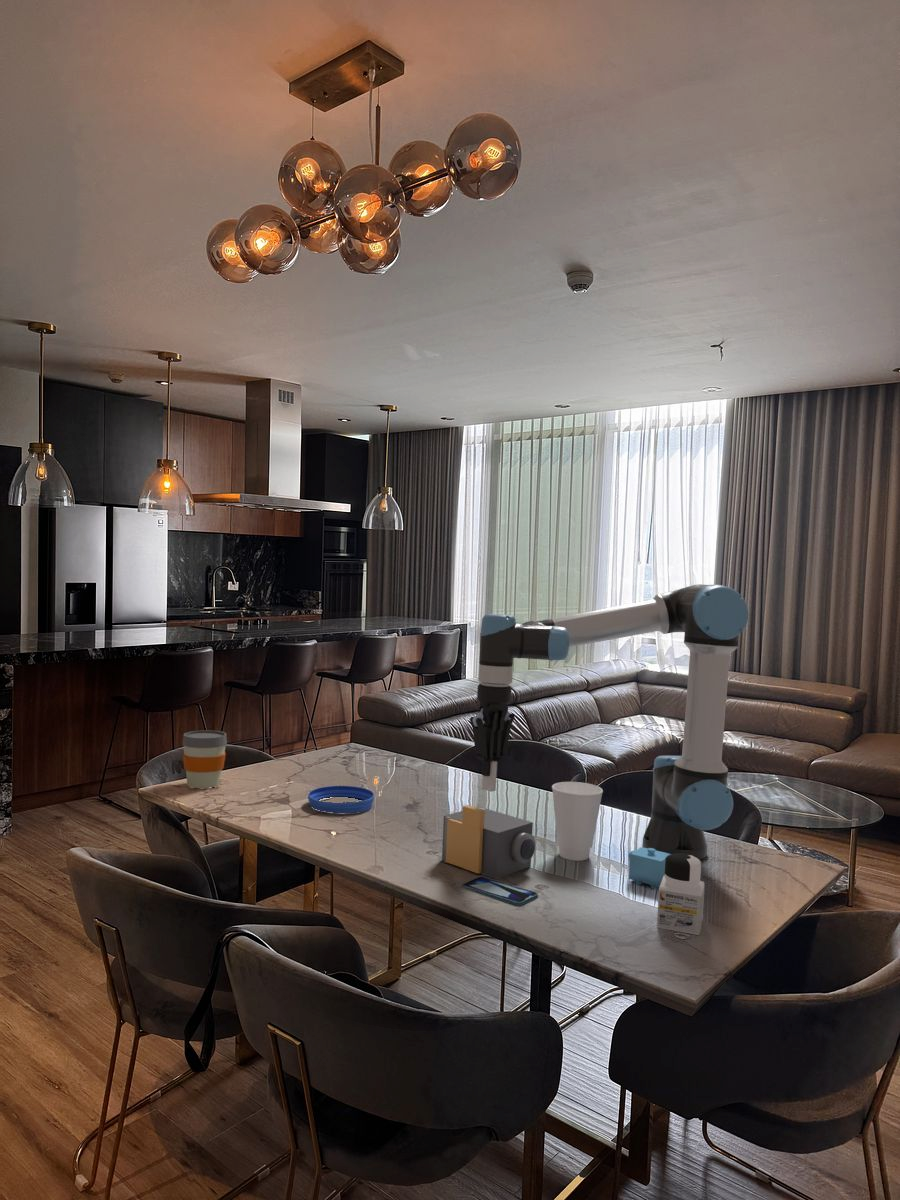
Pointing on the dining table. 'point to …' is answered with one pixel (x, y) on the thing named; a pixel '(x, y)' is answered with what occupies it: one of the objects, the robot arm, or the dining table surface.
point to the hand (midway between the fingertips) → (488, 789)
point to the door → (465, 839)
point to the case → (503, 843)
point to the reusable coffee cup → (204, 757)
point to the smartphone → (500, 890)
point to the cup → (576, 817)
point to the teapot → (647, 866)
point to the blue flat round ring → (341, 791)
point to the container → (681, 895)
